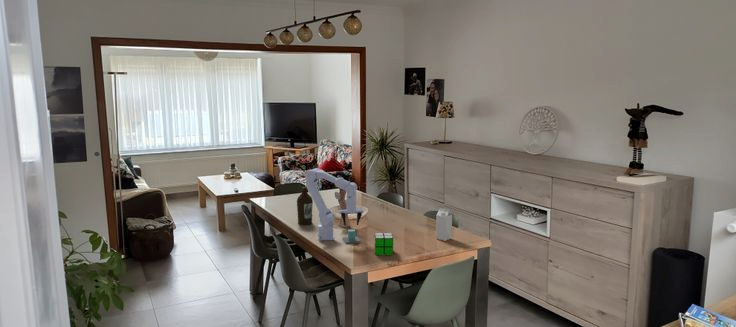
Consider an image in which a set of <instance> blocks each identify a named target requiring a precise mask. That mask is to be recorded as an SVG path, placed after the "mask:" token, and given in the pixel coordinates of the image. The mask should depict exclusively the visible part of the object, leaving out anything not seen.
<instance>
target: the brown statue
mask: <svg viewBox="0 0 736 327" xmlns="http://www.w3.org/2000/svg"><path fill="white" fill-rule="evenodd" d="M338 189H339V191H334V198H335V199H336V200H337V202H338V205H339V207H340V210H346V209H347V199H346V196H347V193H346V191H345V190H343V189H341V188H339V187H338ZM345 199H346V200H345ZM345 216H346V217H345V222H346V226H344V221H343V218H342V216H341V215H340V218H339V221H338V227H339V228H347V227H348V228H349V227H350V225H351V224H350V223H351V222H350V218H349V213H348V214H345Z"/></svg>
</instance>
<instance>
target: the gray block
mask: <svg viewBox="0 0 736 327" xmlns="http://www.w3.org/2000/svg"><path fill="white" fill-rule="evenodd" d="M341 240H342V241H343V242H344V244H345V245H351V244H352V245H353V244H360V243H361V240H360V239H359V237H358V236H356V235H355V240H348V236H347V237H346V236H345V237H342V238H341Z"/></svg>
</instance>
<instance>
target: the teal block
mask: <svg viewBox="0 0 736 327" xmlns="http://www.w3.org/2000/svg"><path fill="white" fill-rule="evenodd" d="M355 236H356V229H351V228H350V229H347V237H348V240H355Z"/></svg>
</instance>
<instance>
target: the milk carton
mask: <svg viewBox="0 0 736 327" xmlns="http://www.w3.org/2000/svg"><path fill="white" fill-rule="evenodd" d="M435 219H436V220H435V221H436V222H435V239H436V240H439V241H444V242H447V241H449V240H451V239H452V235H453V234H452V232H453V231H452V229H453V225H452V224H453V214H452V213H451V211H450V209H447V208H442V207H439V209H438V211H437V213H436V216H435Z"/></svg>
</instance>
